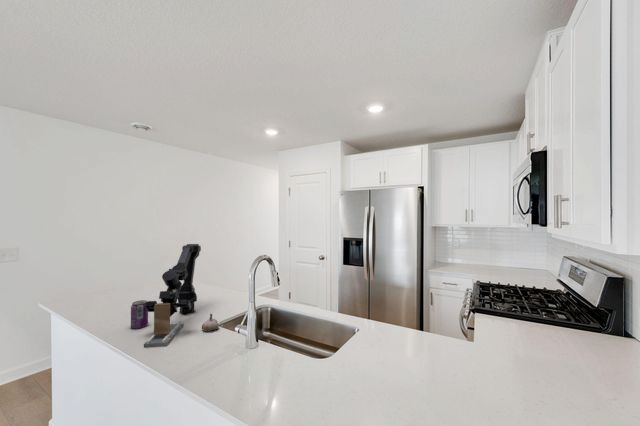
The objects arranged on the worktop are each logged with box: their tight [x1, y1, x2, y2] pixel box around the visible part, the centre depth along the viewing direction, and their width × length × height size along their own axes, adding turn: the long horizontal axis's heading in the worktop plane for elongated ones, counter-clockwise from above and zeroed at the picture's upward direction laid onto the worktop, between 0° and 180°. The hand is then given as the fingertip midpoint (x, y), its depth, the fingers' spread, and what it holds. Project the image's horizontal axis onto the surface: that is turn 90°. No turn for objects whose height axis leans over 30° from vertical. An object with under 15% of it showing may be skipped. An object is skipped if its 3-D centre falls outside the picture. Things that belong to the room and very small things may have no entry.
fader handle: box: [153, 303, 171, 339], centre depth 119 cm, size 4×6×14 cm, turn 99°
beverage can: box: [130, 299, 149, 329], centre depth 133 cm, size 7×7×12 cm
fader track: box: [143, 321, 185, 348], centre depth 123 cm, size 20×9×2 cm, turn 9°
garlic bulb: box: [201, 312, 220, 332], centre depth 130 cm, size 8×7×8 cm
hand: (163, 323), depth 120 cm, fingers closed, pressing on fader handle
